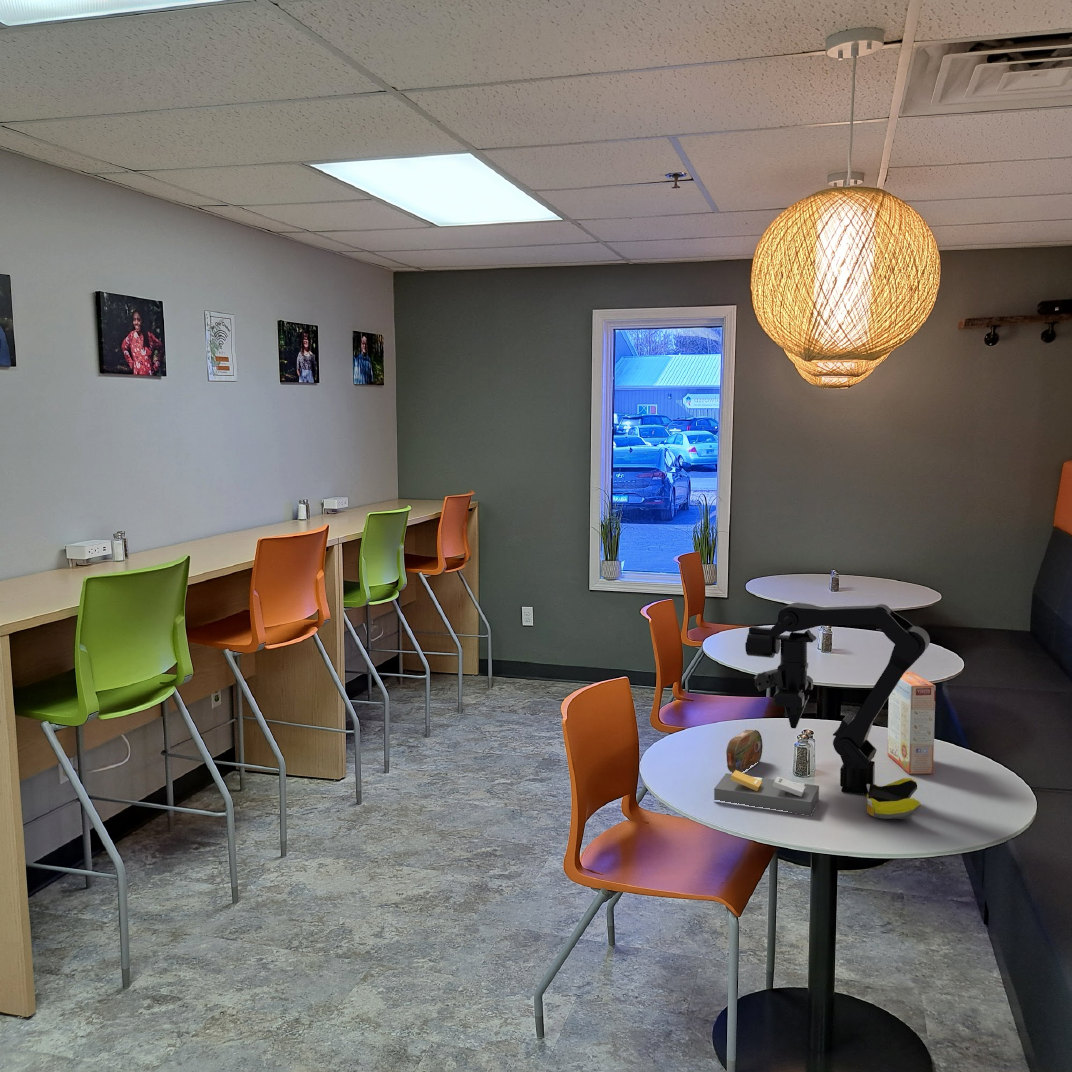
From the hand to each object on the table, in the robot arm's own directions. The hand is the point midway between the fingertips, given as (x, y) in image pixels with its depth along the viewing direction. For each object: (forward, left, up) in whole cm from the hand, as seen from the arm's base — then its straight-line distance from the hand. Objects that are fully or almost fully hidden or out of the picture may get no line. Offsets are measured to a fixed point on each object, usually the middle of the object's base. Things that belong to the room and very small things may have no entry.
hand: (793, 727), depth 210 cm
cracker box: (-23, -20, -12) cm, 33 cm away
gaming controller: (-22, +11, -12) cm, 28 cm away
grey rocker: (-2, +17, -8) cm, 18 cm away
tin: (+12, -3, -12) cm, 17 cm away
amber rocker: (+7, +17, -8) cm, 19 cm away
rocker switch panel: (+3, +15, -12) cm, 20 cm away
